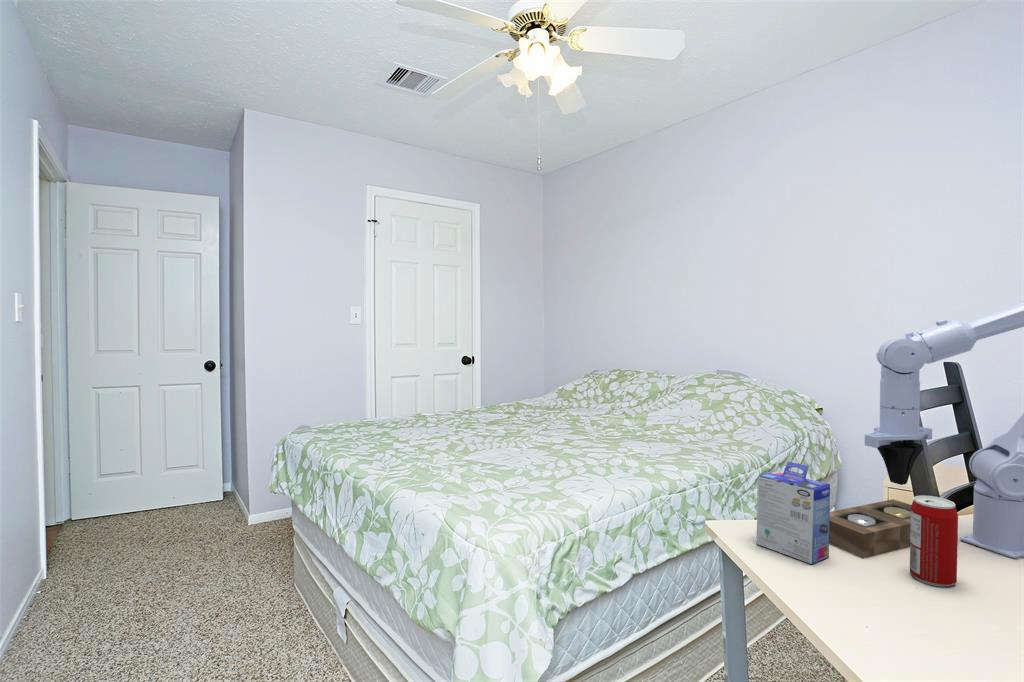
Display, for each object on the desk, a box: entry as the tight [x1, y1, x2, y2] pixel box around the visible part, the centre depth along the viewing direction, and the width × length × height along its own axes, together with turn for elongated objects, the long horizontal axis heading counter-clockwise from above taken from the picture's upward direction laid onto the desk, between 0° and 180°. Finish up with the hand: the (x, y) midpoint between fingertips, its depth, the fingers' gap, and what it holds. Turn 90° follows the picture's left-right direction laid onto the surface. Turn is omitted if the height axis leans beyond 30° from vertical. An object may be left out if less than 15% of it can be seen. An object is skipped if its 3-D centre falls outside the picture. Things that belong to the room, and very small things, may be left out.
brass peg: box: [884, 507, 911, 518], centre depth 97 cm, size 4×4×4 cm
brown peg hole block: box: [829, 498, 912, 559], centre depth 95 cm, size 20×9×4 cm, turn 111°
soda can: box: [909, 495, 959, 588], centre depth 80 cm, size 6×6×12 cm
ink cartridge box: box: [755, 461, 831, 565], centre depth 90 cm, size 10×6×14 cm, turn 34°
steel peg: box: [848, 514, 875, 526], centre depth 94 cm, size 4×4×4 cm
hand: (898, 482), depth 96 cm, fingers closed
